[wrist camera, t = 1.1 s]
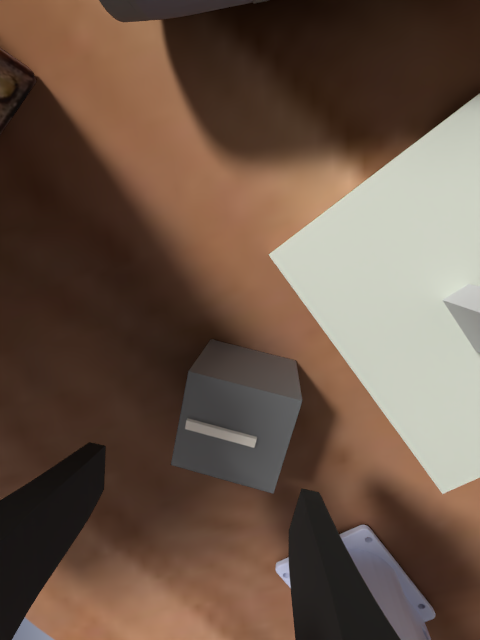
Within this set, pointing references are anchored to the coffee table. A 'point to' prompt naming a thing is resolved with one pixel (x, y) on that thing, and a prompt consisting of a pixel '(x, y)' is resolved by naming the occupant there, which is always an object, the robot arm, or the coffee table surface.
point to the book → (12, 86)
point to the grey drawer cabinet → (238, 415)
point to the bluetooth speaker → (164, 8)
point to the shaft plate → (407, 291)
